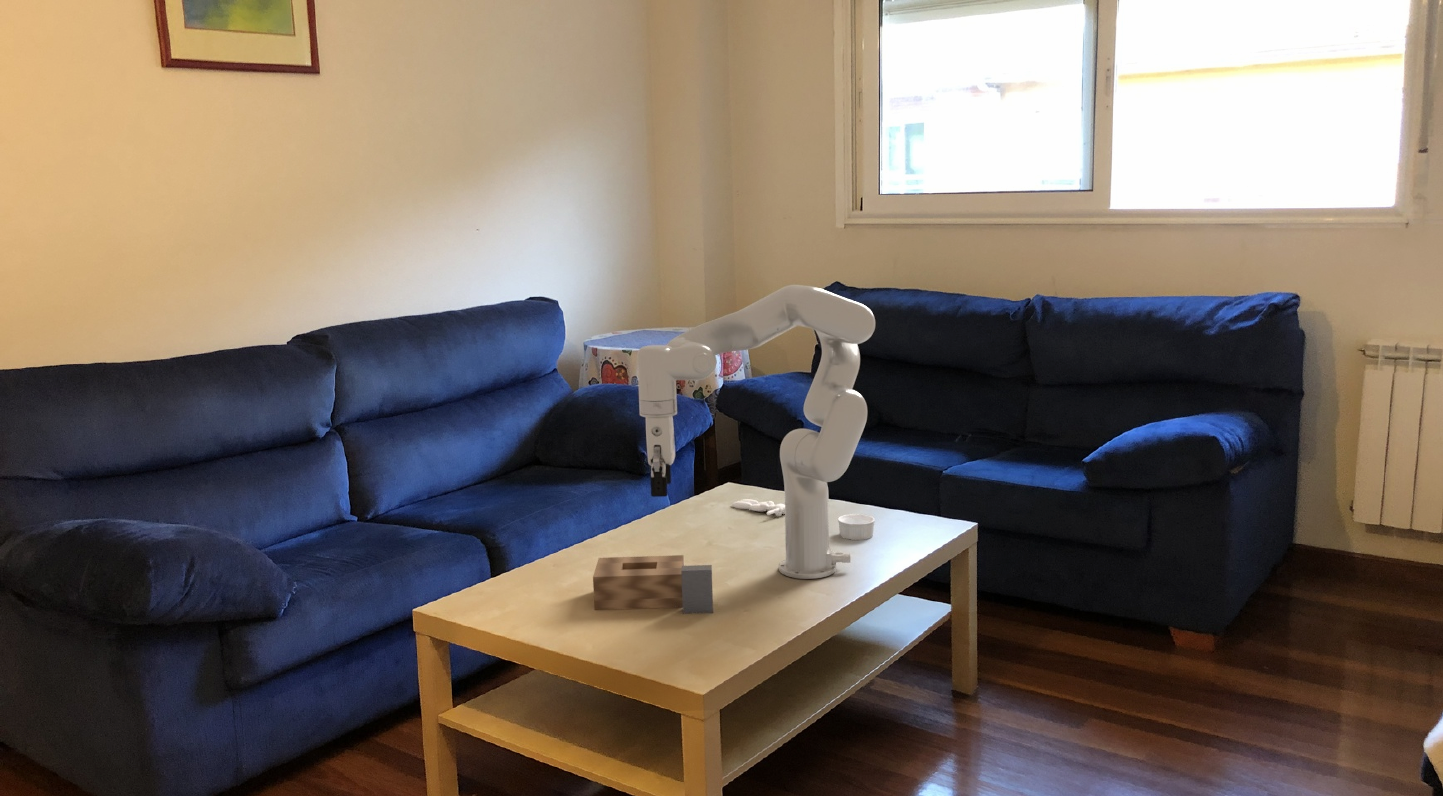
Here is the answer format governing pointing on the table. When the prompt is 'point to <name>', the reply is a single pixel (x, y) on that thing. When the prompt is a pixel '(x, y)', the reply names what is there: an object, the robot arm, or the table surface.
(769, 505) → the decorative figure
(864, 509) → the table surface
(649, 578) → the tan slotted block
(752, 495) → the table surface
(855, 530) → the ramekin
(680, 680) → the table surface
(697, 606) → the grey rectangular block
